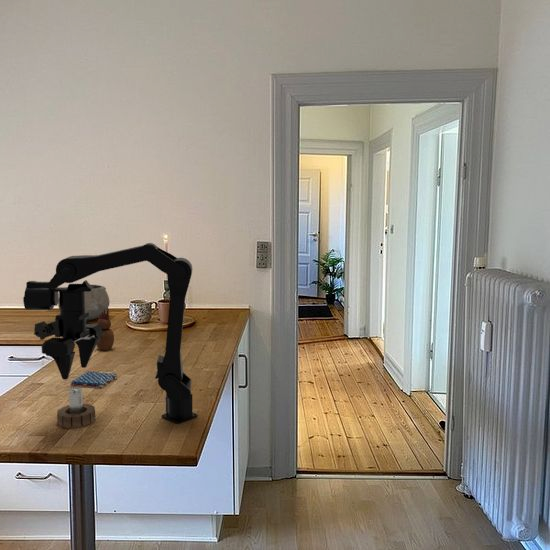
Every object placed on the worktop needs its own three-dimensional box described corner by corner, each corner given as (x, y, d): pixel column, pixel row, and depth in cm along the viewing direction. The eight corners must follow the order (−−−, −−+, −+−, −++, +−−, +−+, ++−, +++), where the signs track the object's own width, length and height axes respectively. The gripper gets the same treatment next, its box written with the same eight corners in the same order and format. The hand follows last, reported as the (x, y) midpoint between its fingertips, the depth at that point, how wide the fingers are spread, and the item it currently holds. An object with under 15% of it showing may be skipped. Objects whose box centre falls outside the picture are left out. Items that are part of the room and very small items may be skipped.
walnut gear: (102, 419, 136) (101, 409, 135) (69, 430, 129) (69, 420, 129) (82, 411, 141) (82, 401, 141) (50, 421, 135) (50, 410, 134)
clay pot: (55, 326, 231) (54, 291, 229) (62, 316, 251) (61, 283, 249) (108, 324, 236) (107, 289, 234) (111, 314, 256) (110, 282, 254)
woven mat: (119, 379, 168) (119, 372, 168) (102, 390, 158) (102, 384, 157) (87, 376, 170) (87, 370, 169) (68, 388, 159) (68, 381, 159)
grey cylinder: (85, 420, 135) (84, 388, 134) (74, 424, 133) (73, 392, 132) (78, 417, 137) (77, 386, 136) (67, 420, 135) (66, 389, 134)
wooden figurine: (117, 349, 198) (116, 308, 196) (102, 352, 194) (101, 310, 192) (107, 346, 202) (106, 305, 200) (92, 349, 198) (91, 307, 196)
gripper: (60, 301, 142) (63, 360, 144) (17, 316, 123) (21, 383, 125) (102, 302, 140) (103, 362, 142) (65, 318, 122) (67, 386, 124)
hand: (74, 373), depth 134 cm, fingers open, 9 cm apart
